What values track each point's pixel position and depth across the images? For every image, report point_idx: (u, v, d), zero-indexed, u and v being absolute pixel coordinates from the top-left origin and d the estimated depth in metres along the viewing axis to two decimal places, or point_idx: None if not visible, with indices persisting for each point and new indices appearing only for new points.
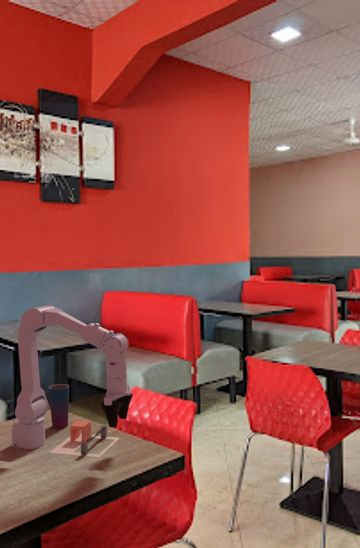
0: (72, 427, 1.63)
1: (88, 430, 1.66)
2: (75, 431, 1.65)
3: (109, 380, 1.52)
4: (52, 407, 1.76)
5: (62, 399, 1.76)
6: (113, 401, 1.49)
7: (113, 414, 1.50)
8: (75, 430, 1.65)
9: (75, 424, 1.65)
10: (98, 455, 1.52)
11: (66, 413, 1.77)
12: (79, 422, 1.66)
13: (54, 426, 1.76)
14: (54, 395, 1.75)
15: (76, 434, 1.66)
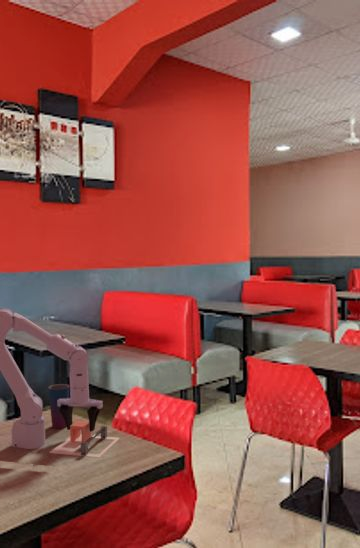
0: (72, 427, 1.63)
1: (88, 430, 1.66)
2: (75, 431, 1.65)
3: None
4: (52, 407, 1.76)
5: None
6: (64, 405, 1.66)
7: None
8: (75, 430, 1.65)
9: (75, 424, 1.65)
10: (98, 455, 1.52)
11: None
12: (79, 422, 1.66)
13: (54, 426, 1.76)
14: (54, 395, 1.75)
15: (76, 434, 1.66)
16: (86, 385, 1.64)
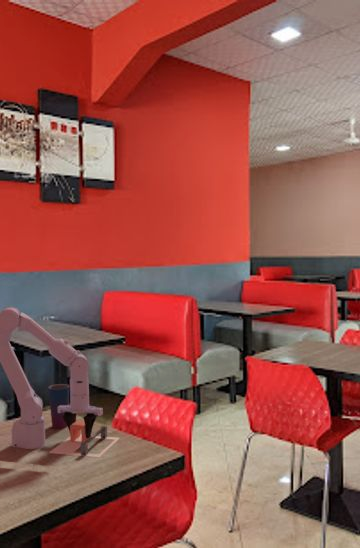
0: (72, 427, 1.63)
1: None
2: (75, 431, 1.65)
3: None
4: (52, 407, 1.76)
5: (62, 399, 1.76)
6: (68, 412, 1.65)
7: None
8: (75, 430, 1.65)
9: (75, 424, 1.65)
10: (98, 455, 1.52)
11: None
12: (79, 422, 1.66)
13: (54, 426, 1.76)
14: (54, 395, 1.75)
15: (76, 434, 1.66)
16: (86, 392, 1.64)
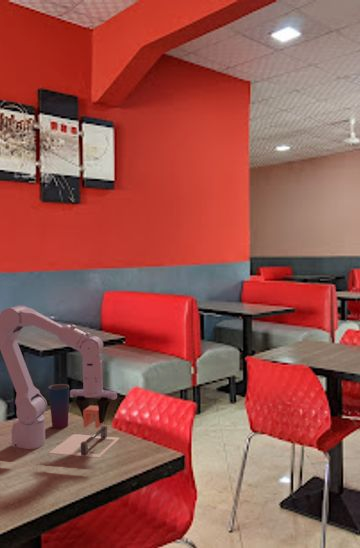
0: (85, 412, 1.58)
1: None
2: (88, 416, 1.60)
3: None
4: (52, 407, 1.76)
5: (62, 399, 1.76)
6: (81, 396, 1.60)
7: None
8: (88, 415, 1.60)
9: (88, 409, 1.59)
10: (98, 455, 1.52)
11: (66, 413, 1.77)
12: (92, 407, 1.60)
13: (54, 426, 1.76)
14: (54, 395, 1.75)
15: (89, 419, 1.60)
16: (97, 376, 1.57)
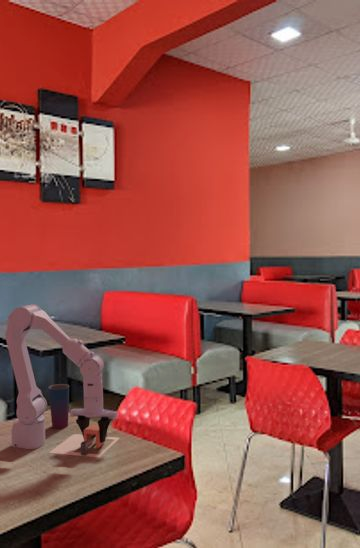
0: (86, 431, 1.58)
1: None
2: (89, 435, 1.60)
3: None
4: (52, 407, 1.76)
5: (62, 399, 1.76)
6: (81, 416, 1.60)
7: None
8: (89, 434, 1.60)
9: (89, 428, 1.59)
10: (98, 455, 1.52)
11: (66, 413, 1.77)
12: (93, 427, 1.61)
13: (54, 426, 1.76)
14: (54, 395, 1.75)
15: None
16: (98, 396, 1.57)
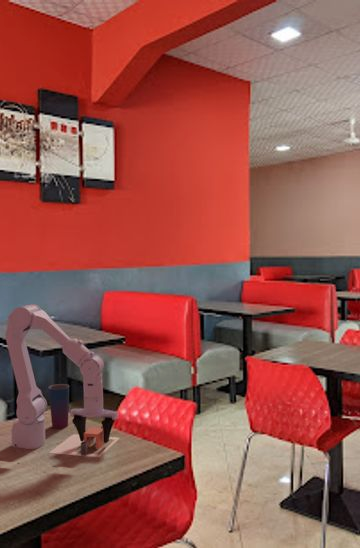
0: (86, 435, 1.58)
1: (102, 437, 1.60)
2: None
3: None
4: (52, 407, 1.76)
5: (62, 399, 1.76)
6: (78, 415, 1.60)
7: None
8: None
9: (89, 431, 1.59)
10: (98, 455, 1.52)
11: (66, 413, 1.77)
12: (93, 430, 1.61)
13: (54, 426, 1.76)
14: (54, 395, 1.75)
15: (90, 442, 1.61)
16: (98, 396, 1.57)
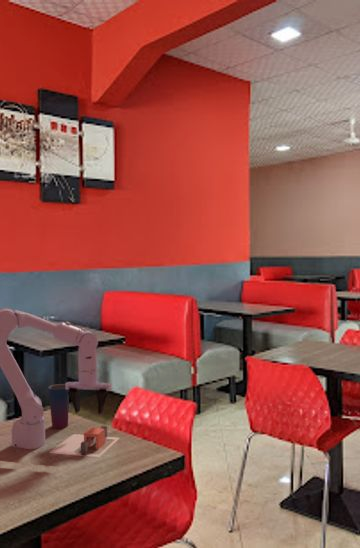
0: (86, 435, 1.58)
1: (102, 437, 1.60)
2: None
3: None
4: (52, 407, 1.76)
5: (62, 399, 1.76)
6: (72, 388, 1.67)
7: None
8: None
9: (89, 431, 1.59)
10: (98, 455, 1.52)
11: (66, 413, 1.77)
12: (93, 430, 1.61)
13: (54, 426, 1.76)
14: (54, 395, 1.75)
15: (90, 442, 1.61)
16: (95, 368, 1.66)
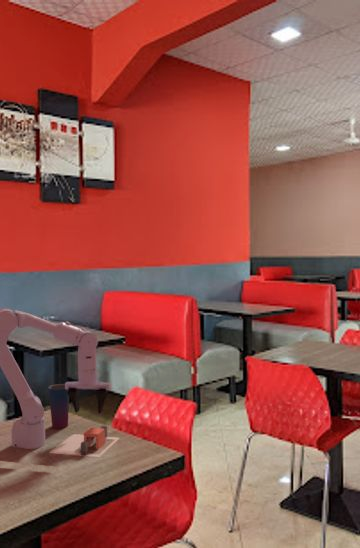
0: (86, 435, 1.58)
1: (102, 437, 1.60)
2: None
3: None
4: (52, 407, 1.76)
5: (62, 399, 1.76)
6: (72, 388, 1.67)
7: None
8: None
9: (89, 431, 1.59)
10: (98, 455, 1.52)
11: (66, 413, 1.77)
12: (93, 430, 1.61)
13: (54, 426, 1.76)
14: (54, 395, 1.75)
15: (90, 442, 1.61)
16: (95, 367, 1.66)
